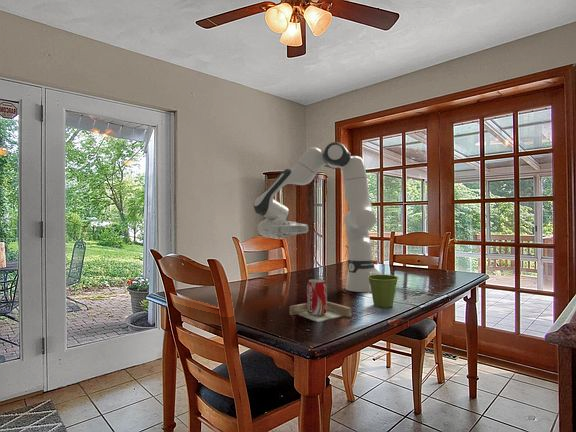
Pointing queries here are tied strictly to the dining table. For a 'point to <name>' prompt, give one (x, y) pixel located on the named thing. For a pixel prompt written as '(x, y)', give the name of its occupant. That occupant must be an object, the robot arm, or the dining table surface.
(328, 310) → the wooden stand
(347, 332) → the dining table surface
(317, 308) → the soda can
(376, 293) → the plant pot
